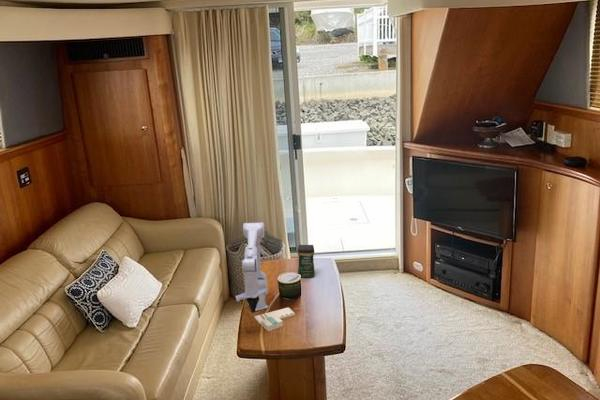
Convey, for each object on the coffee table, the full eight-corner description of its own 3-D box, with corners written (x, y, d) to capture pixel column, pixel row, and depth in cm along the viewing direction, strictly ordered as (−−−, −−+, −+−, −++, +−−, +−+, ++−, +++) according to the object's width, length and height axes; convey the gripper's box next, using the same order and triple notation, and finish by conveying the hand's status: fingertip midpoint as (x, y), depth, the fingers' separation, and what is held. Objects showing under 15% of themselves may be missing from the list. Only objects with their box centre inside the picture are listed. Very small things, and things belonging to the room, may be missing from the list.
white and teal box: (261, 326, 228) (261, 319, 228) (276, 321, 232) (276, 314, 232) (267, 332, 224) (267, 325, 223) (283, 326, 228) (282, 320, 227)
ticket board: (254, 318, 236) (254, 315, 235) (288, 309, 243) (288, 306, 243) (260, 324, 229) (260, 322, 229) (294, 315, 237) (294, 312, 237)
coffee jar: (297, 278, 278) (296, 247, 273) (298, 272, 285) (297, 242, 280) (314, 278, 277) (313, 247, 272) (315, 272, 284) (314, 242, 280)
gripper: (238, 291, 211) (240, 319, 215) (269, 283, 217) (271, 311, 221) (233, 284, 217) (235, 312, 221) (263, 277, 224) (265, 305, 227)
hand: (253, 311), depth 221 cm, fingers closed
